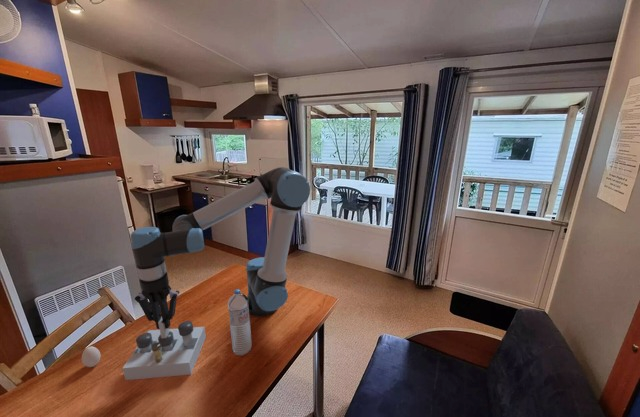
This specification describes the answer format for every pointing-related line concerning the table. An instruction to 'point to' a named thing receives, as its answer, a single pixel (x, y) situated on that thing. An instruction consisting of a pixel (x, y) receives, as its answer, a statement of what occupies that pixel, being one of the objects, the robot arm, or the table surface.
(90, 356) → the egg
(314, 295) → the table surface
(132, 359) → the console
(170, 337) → the knob mid
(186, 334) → the knob
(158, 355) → the pot stem
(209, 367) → the table surface
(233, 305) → the water bottle
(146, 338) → the knob
